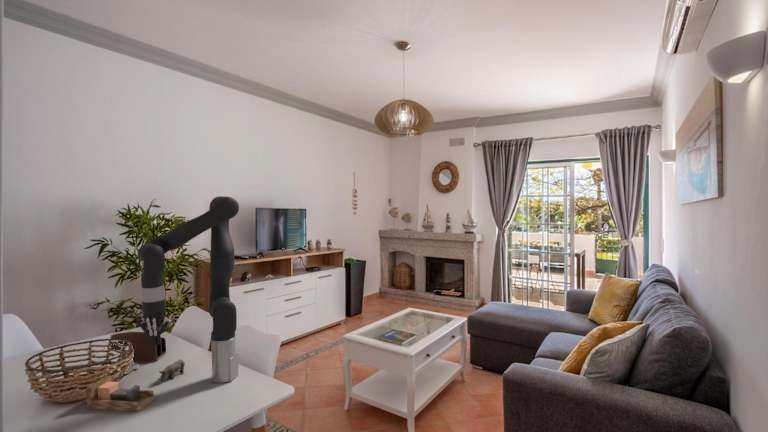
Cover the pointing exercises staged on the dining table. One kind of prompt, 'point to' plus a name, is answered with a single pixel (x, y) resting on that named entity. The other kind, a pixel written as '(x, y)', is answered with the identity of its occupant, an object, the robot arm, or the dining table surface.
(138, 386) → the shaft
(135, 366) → the ceramic mug
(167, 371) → the rhino figurine
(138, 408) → the wooden tray
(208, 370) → the dining table surface
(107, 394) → the block
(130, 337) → the letter holder
